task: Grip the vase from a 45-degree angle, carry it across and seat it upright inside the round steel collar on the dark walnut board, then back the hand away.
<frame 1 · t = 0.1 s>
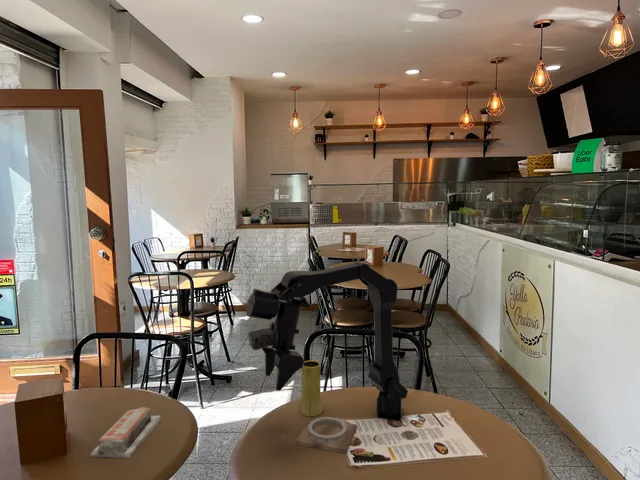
hand: (272, 382, 109), 15 cm above the table, tool pointing down, fingers open, 9 cm apart
vase: (311, 412, 126), on the table
socket board: (327, 436, 113), on the table
packaged product: (128, 439, 114), on the table
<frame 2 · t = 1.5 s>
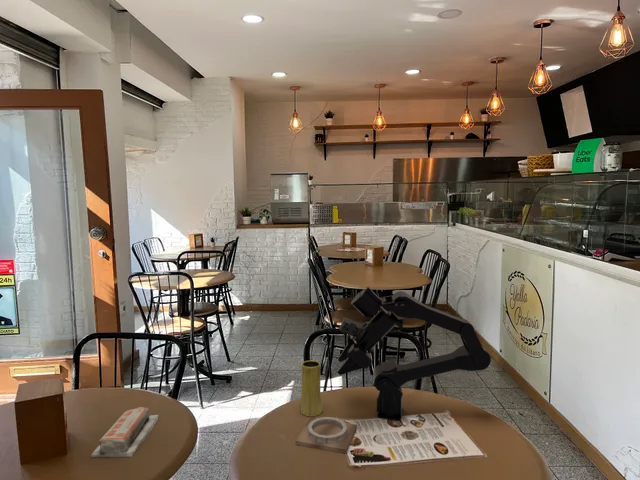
hand: (338, 367, 124), 14 cm above the table, tool tilted 45°, fingers open, 9 cm apart
nothing on the table moved.
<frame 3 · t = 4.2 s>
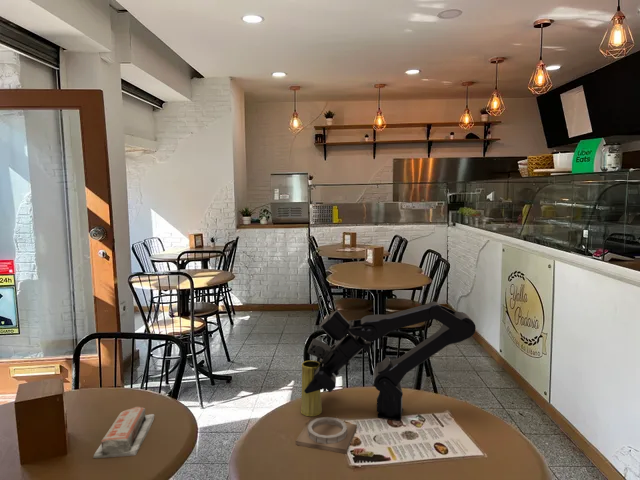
hand: (306, 387, 125), 7 cm above the table, tool tilted 45°, fingers closed on vase, 5 cm apart
vase: (311, 412, 126), on the table, touching gripper
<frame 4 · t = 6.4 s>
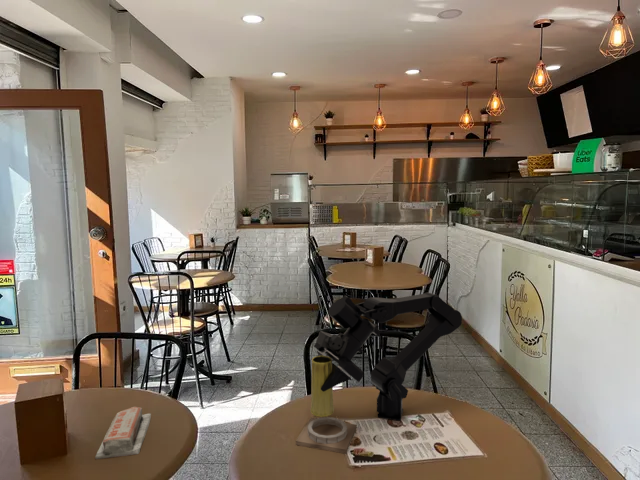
hand: (317, 386, 114), 13 cm above the table, tool tilted 45°, fingers closed on vase, 5 cm apart
vase: (322, 412, 115), point 5 cm above the table, touching gripper
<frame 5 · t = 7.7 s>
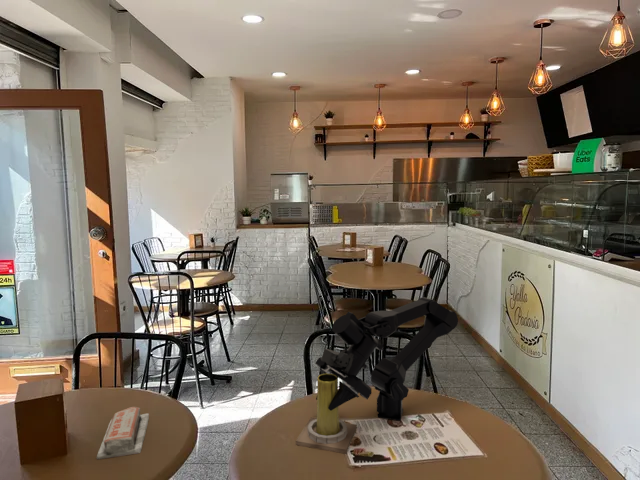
hand: (323, 404, 112), 9 cm above the table, tool tilted 45°, fingers closed on vase, 5 cm apart
vase: (327, 430, 113), point 1 cm above the table, touching gripper
when the fingers open (9 cm above the table, at t = 8.7 s): vase stays where it is, resting on socket board.
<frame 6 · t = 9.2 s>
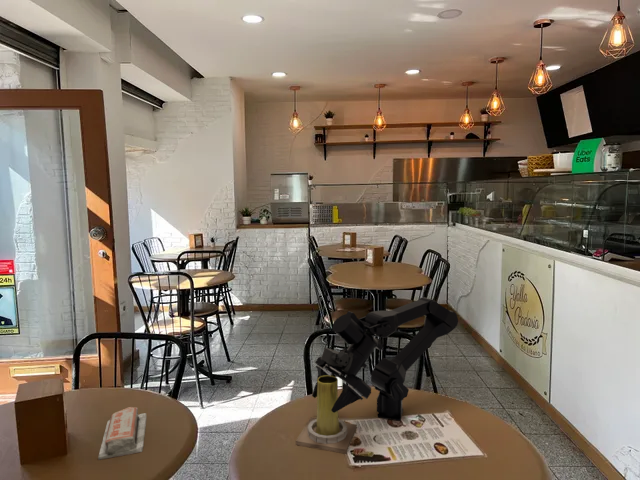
hand: (322, 404, 112), 9 cm above the table, tool tilted 45°, fingers open, 9 cm apart
vase: (327, 432, 113), point 1 cm above the table, touching socket board
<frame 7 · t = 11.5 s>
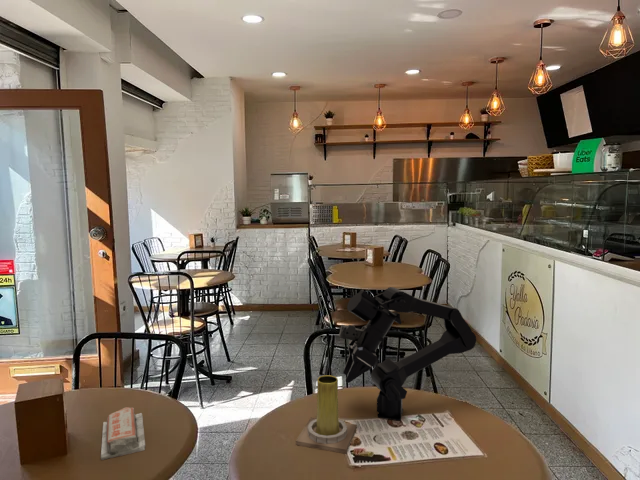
hand: (345, 377, 119), 13 cm above the table, tool tilted 35°, fingers open, 9 cm apart
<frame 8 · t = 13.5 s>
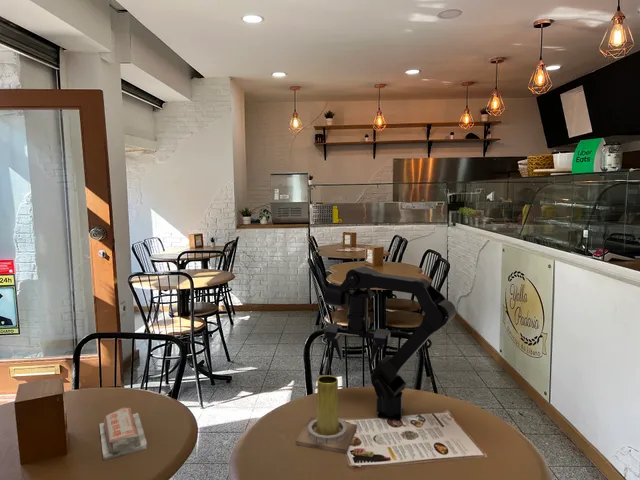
hand: (356, 361, 129), 13 cm above the table, tool pointing down, fingers open, 9 cm apart
at the end: vase 0.2 cm off-centre on the socket board, point 0.8 cm above the socket board's base; vase tilted 0°; the gripper is holding nothing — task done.
